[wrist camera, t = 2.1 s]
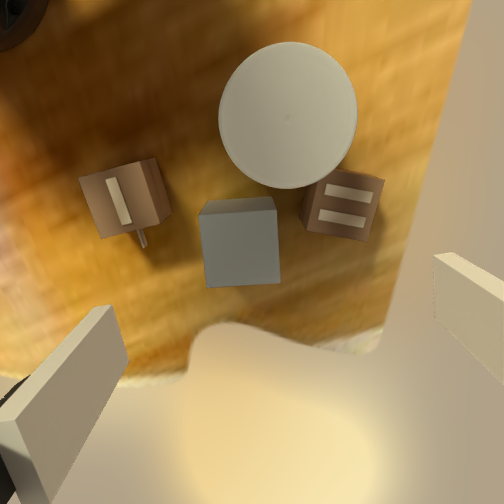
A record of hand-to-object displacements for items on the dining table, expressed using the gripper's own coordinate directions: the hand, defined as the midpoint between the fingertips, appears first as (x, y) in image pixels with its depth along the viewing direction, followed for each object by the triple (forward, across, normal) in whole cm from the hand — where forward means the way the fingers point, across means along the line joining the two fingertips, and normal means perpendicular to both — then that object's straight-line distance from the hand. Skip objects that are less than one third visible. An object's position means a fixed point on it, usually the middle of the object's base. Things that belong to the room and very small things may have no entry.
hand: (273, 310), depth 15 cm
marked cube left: (+27, -13, +2) cm, 30 cm away
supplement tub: (+27, +3, +8) cm, 28 cm away
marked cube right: (+27, +8, -1) cm, 28 cm away
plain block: (+27, -2, -3) cm, 27 cm away
